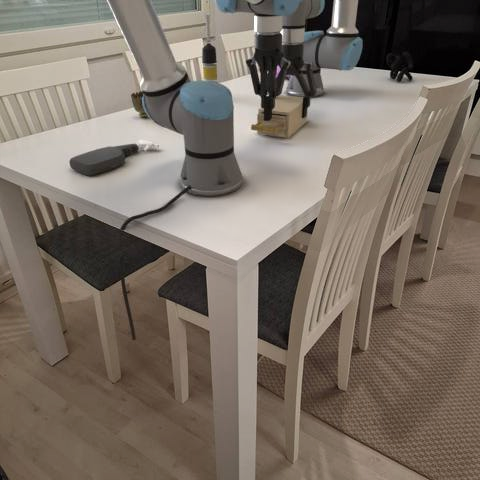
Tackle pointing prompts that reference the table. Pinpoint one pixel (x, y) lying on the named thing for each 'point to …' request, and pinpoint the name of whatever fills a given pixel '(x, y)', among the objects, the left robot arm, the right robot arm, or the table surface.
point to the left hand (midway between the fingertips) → (267, 119)
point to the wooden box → (289, 112)
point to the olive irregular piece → (138, 103)
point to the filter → (209, 57)
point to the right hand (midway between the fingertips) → (288, 115)
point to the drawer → (270, 125)
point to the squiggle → (399, 66)
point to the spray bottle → (106, 157)
